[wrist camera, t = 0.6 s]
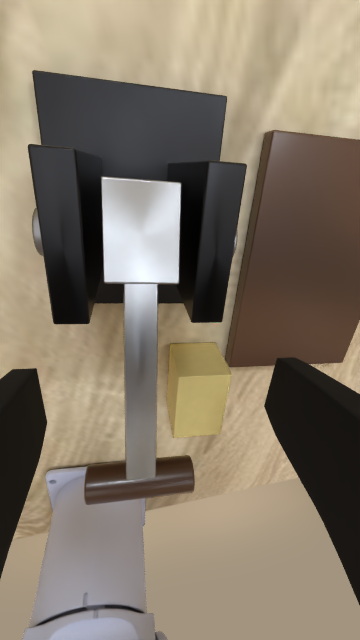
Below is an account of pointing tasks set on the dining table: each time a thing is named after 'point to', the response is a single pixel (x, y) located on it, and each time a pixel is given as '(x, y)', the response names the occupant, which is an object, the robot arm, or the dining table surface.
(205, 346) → the butter
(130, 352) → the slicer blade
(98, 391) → the dining table surface
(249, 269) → the board
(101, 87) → the slicer
